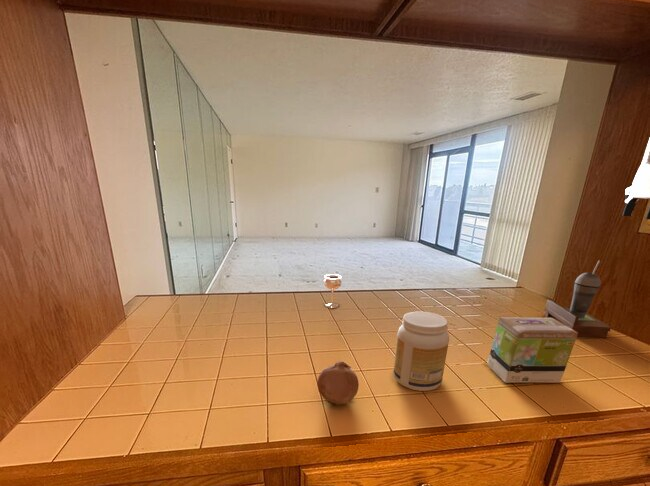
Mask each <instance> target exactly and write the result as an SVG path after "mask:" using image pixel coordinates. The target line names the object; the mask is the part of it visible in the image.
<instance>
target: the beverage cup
mask: <svg viewBox="0 0 650 486" xmlns="http://www.w3.org/2000/svg"><path fill="white" fill-rule="evenodd" d="M600 263H601V260H598V261H597V263H596V265H595V266H594V269H593V271H592V272H583V273H581V274H580V275H578V276H577V277H576V279H575V280H574V285H573V293H572V298H571V302H570V307H569V308H570V312H571V313H573V314H575V315H576V316H578V317H579V318H584V317H585V315H586V313H588V311H589V309H590V307H591V304H592V302H593V300H594V298H595V296H596V294H597V292H598V291H599V289H600V287H601V278H600V276H599V275H597V273H596V271H597V269H598V267H599V265H600Z"/></svg>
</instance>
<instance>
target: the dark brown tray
mask: <svg viewBox="0 0 650 486" xmlns="http://www.w3.org/2000/svg"><path fill="white" fill-rule="evenodd" d="M544 312H545V313H544V317H543V318H554V319H555V320H557V321H559V322H560V323H562V324H564V325H566V326H567V327H569V328H571V329H573V330H574V331H576V332H578V335H577V338H594V339H607V336H608V334H609V332H611V329H612V327H611V326H610V325H608V324H606V323H605V322H603V321H602V320H599V319H598V318H596V317H595V316H593V315H591V314H589V313H588V312H587V313H586V315H585V317H584V318H579V317H578V316H576V315H575V314H573V313H571V312H570V307H564V306H562V305H561V304H559V303H557V302H556V301H553V300H552V299H549V298H547V301H546V304H545V307H544Z"/></svg>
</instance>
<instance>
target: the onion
mask: <svg viewBox="0 0 650 486" xmlns="http://www.w3.org/2000/svg"><path fill="white" fill-rule="evenodd" d="M316 381H317V382H316V383H317V390H318V392H319V393H320V395H321V397H322V398H323V399H324V401H325V402H326V403H328V404H331V405H332V406H341V405H342V406H344V405H345V404H347V403H351V402H352V401H353V400H354V398H355V397H356V395H357V394H358V391H359V385H360V384H359V383H360V382H359V378H358V376H357V374H356V372H355V371H354V370H353V369H352V367H351V366H350V365H349V364H347V362H344V361H339V362H335V363H334V364H331V365H328V366H327V367H324V368H323V369H322V370H321V372H319V374H318V377H317V380H316Z"/></svg>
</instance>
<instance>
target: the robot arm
mask: <svg viewBox="0 0 650 486" xmlns="http://www.w3.org/2000/svg"><path fill="white" fill-rule="evenodd" d="M624 198H625V200H624V203H625V205H624V209H623V210H622V211H623V212H622V217H632V216H631V213H632V211H633V210H634V207H635V205H636V204H637V202H638V201H639V200H641V199H645V200H647V199H648V200H649V199H650V138H649V139H648V142H647V145H646V147H645V151H644V154H643V157H642V160H641V164H640V166H639V167H638V169H637V172H636V174H635V176H634V178H633V181H632V185H631V186H629V187H627V188H626V189H625V195H624ZM636 201H637V202H636ZM635 202H636V203H635ZM645 220H650V205H649V207H648V209H647V212H646V214H645Z"/></svg>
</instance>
